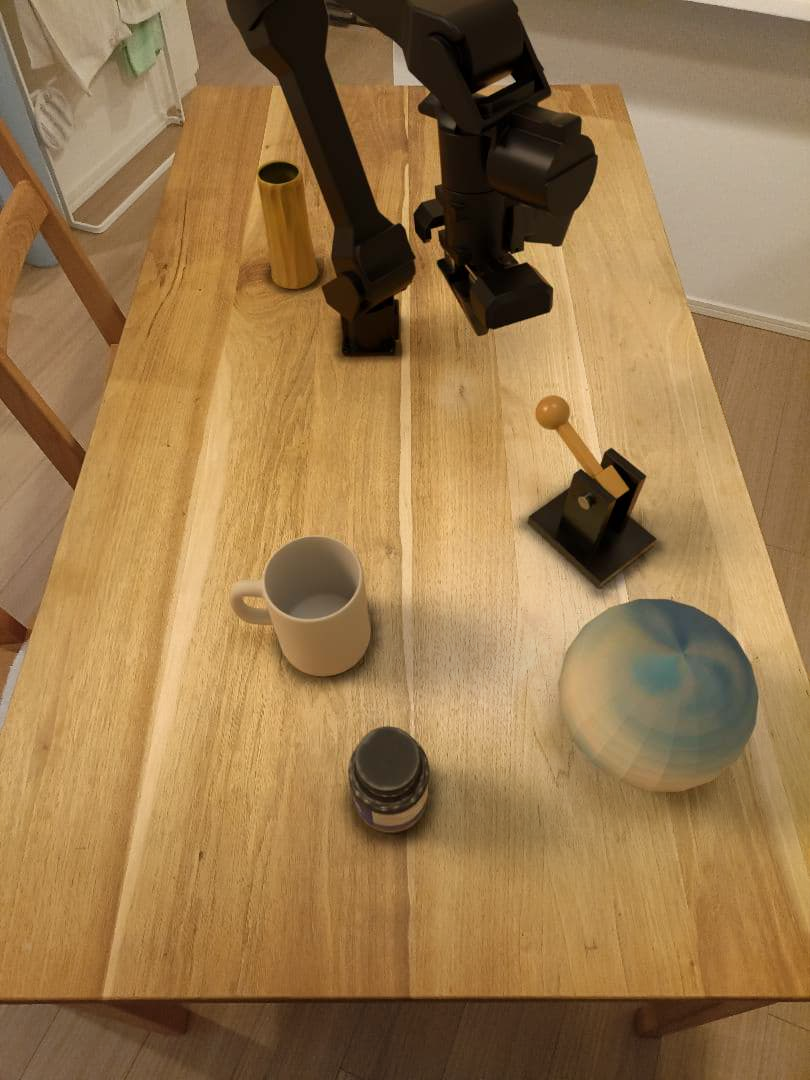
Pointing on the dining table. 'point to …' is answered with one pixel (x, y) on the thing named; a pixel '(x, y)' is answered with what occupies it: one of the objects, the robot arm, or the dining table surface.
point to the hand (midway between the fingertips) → (481, 333)
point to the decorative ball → (658, 695)
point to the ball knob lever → (577, 443)
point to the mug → (311, 604)
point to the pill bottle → (389, 779)
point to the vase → (287, 224)
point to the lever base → (596, 522)
